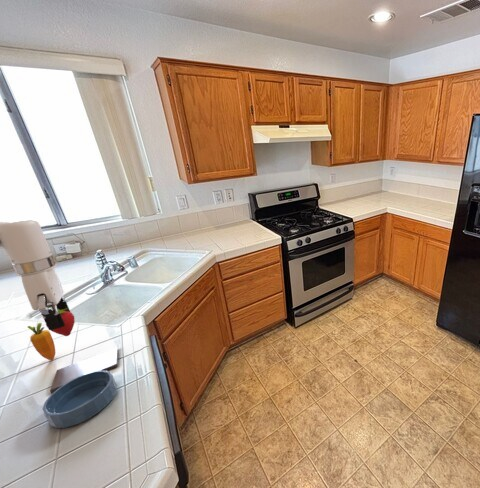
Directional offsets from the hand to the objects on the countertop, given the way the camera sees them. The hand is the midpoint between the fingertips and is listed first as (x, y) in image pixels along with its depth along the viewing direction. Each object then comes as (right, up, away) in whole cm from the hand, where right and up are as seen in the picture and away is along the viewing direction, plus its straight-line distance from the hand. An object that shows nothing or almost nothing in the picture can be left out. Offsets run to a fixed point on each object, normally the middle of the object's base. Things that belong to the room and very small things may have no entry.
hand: (60, 320), depth 76 cm
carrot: (-19, -19, +16) cm, 31 cm away
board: (-2, -19, +11) cm, 22 cm away
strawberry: (0, -5, +2) cm, 6 cm away
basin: (+9, -23, -2) cm, 25 cm away
